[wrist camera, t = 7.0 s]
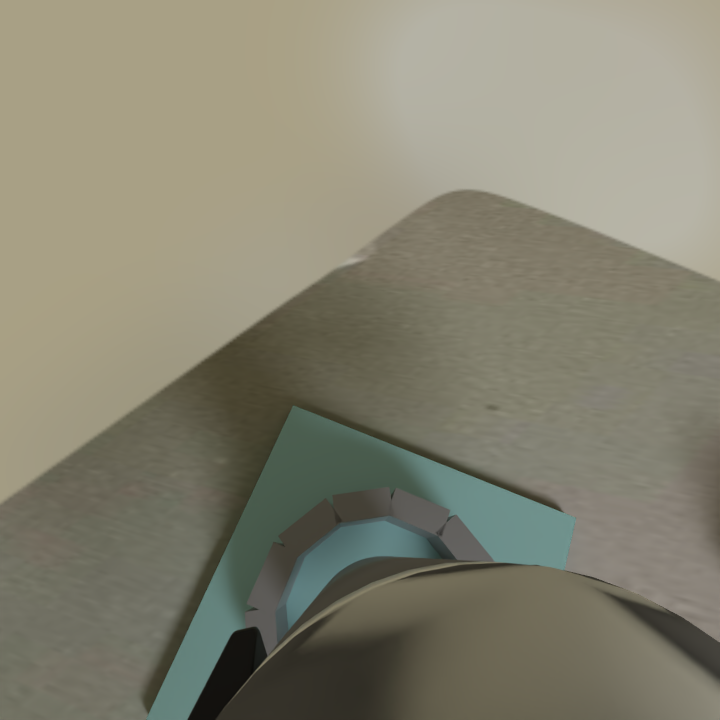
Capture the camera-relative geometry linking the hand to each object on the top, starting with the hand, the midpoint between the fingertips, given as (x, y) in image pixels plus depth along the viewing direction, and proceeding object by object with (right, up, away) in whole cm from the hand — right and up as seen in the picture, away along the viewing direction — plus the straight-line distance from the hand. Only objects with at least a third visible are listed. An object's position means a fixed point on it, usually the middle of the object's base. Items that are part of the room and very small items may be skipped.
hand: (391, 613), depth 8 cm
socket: (0, -6, +11) cm, 13 cm away
